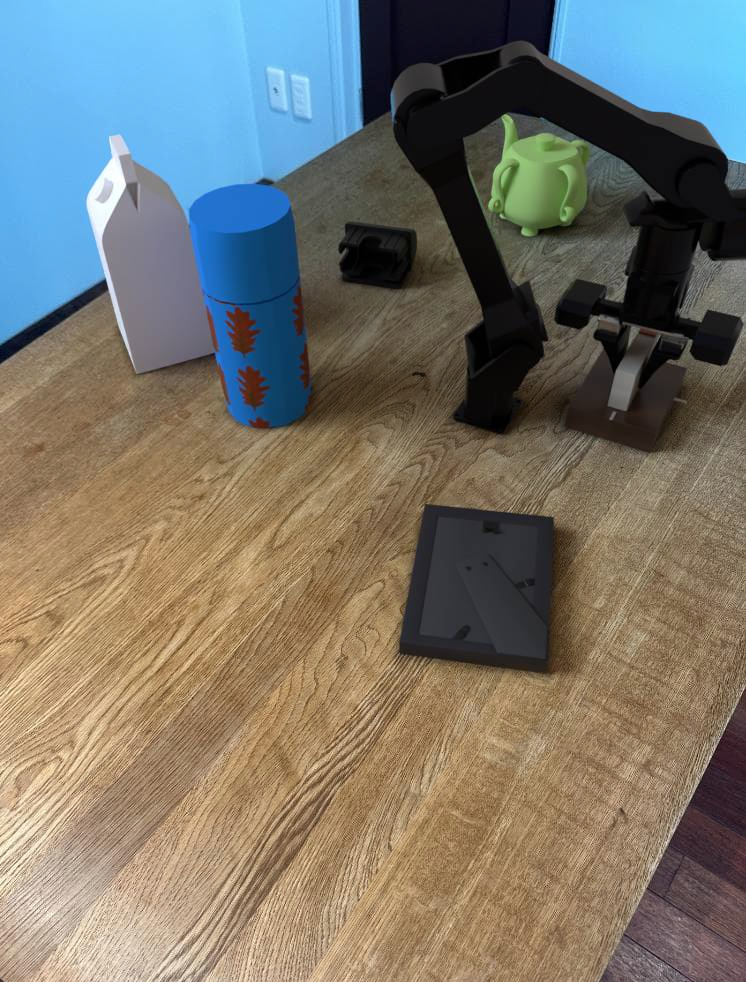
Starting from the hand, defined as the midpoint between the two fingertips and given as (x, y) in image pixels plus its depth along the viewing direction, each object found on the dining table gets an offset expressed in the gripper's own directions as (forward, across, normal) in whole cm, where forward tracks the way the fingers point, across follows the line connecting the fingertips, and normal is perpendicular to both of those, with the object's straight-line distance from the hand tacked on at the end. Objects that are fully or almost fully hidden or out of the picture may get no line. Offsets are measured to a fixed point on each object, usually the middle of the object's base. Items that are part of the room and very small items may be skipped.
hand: (629, 383), depth 94 cm
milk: (+4, +59, +13) cm, 61 cm away
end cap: (+4, +41, -14) cm, 43 cm away
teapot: (+4, +27, -39) cm, 48 cm away
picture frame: (+4, +4, +33) cm, 33 cm away
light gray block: (0, 0, 0) cm, 0 cm away
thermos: (+4, +39, +18) cm, 43 cm away
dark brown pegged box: (+4, 0, 0) cm, 4 cm away
